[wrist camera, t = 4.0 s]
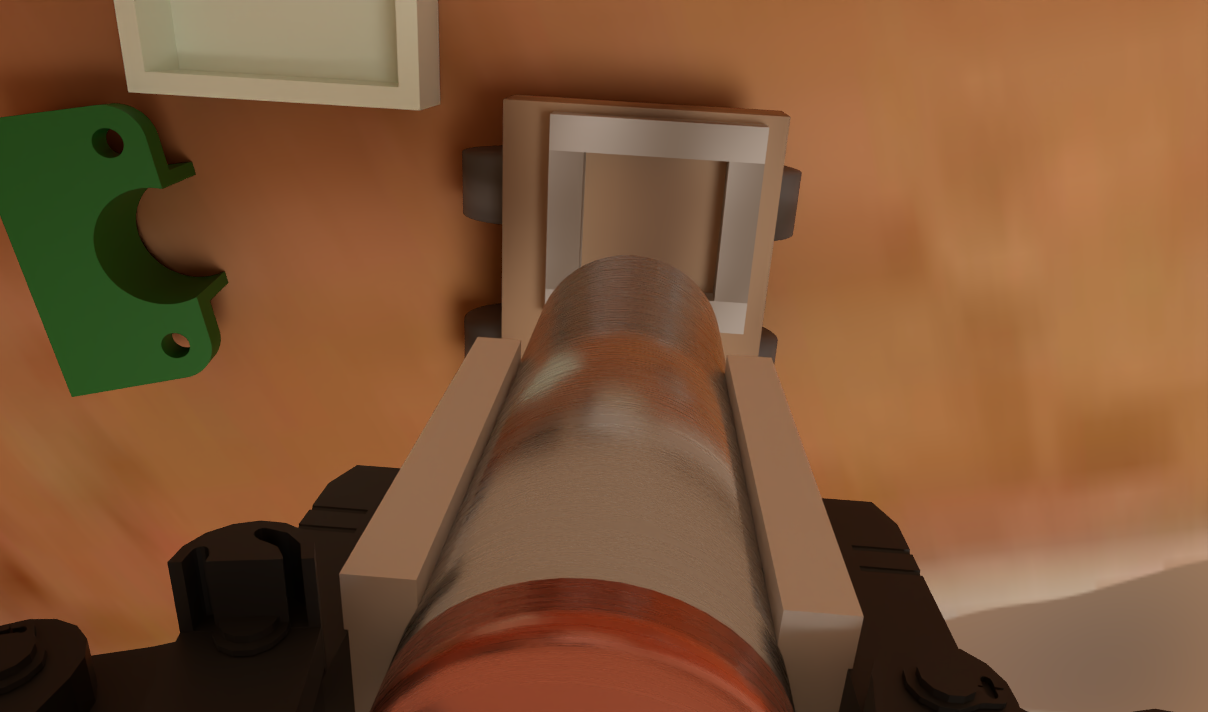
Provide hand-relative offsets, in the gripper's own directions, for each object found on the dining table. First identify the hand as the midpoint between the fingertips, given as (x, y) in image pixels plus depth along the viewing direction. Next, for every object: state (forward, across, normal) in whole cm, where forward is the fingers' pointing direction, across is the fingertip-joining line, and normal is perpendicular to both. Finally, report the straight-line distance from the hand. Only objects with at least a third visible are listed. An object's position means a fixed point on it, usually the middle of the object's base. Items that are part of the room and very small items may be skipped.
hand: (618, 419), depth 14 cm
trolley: (+22, 0, -3) cm, 22 cm away
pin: (+4, 0, 0) cm, 4 cm away
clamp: (+23, -22, -3) cm, 32 cm away
